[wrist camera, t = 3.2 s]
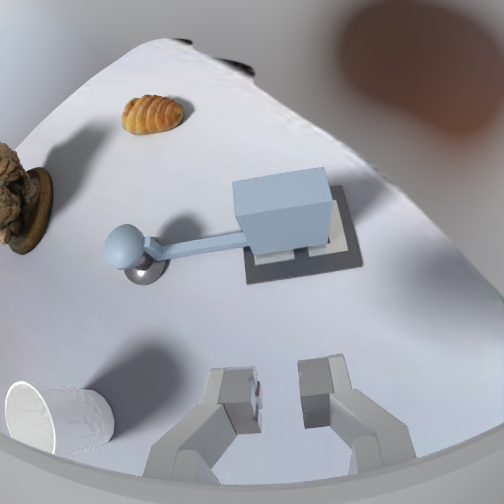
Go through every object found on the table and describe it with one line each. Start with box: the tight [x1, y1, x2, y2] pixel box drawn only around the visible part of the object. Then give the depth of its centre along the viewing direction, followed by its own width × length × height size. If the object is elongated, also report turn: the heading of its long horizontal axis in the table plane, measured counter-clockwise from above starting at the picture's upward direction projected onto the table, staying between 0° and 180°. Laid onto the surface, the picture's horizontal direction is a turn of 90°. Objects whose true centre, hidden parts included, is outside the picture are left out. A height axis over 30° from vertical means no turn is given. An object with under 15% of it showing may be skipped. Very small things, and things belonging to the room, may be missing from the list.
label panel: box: [243, 186, 362, 285], centre depth 30 cm, size 9×11×1 cm
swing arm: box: [104, 167, 333, 270], centre depth 26 cm, size 21×4×8 cm, turn 96°
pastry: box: [122, 95, 183, 135], centre depth 39 cm, size 9×7×4 cm
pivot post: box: [124, 240, 167, 285], centre depth 30 cm, size 5×5×4 cm
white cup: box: [5, 381, 115, 458], centre depth 22 cm, size 8×8×10 cm
